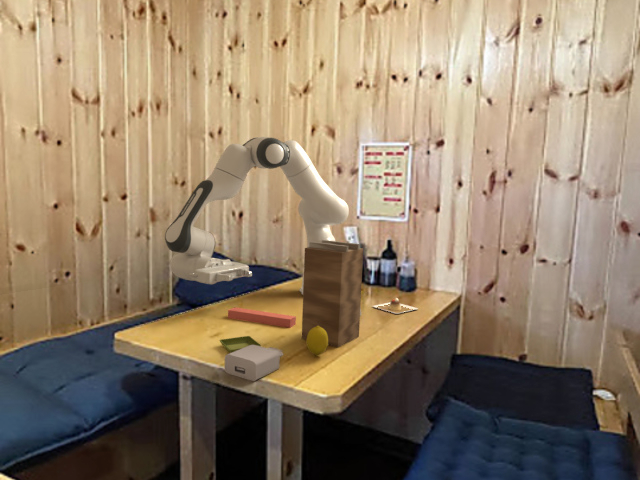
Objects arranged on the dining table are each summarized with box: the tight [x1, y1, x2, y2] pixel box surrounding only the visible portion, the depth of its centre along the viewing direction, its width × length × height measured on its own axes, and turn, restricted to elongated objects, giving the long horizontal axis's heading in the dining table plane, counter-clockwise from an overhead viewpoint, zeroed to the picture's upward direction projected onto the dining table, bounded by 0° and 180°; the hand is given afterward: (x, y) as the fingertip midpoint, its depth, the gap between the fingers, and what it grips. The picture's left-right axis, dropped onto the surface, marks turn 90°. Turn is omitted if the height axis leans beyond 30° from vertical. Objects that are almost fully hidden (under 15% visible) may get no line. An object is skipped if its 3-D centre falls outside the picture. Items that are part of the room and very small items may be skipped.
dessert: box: [371, 297, 419, 315], centre depth 179 cm, size 12×12×5 cm
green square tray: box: [219, 335, 262, 354], centre depth 131 cm, size 9×9×2 cm
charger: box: [224, 345, 284, 382], centre depth 118 cm, size 5×9×15 cm
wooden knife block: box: [301, 240, 364, 348], centre depth 141 cm, size 12×12×28 cm
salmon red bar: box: [227, 306, 297, 329], centre depth 157 cm, size 4×22×3 cm, turn 68°
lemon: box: [306, 326, 329, 357], centre depth 127 cm, size 6×6×8 cm
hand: (241, 276), depth 159 cm, fingers open, 8 cm apart
